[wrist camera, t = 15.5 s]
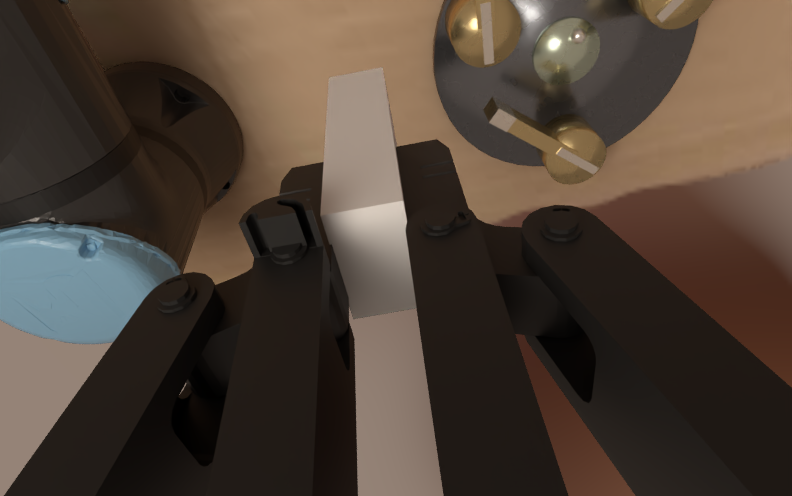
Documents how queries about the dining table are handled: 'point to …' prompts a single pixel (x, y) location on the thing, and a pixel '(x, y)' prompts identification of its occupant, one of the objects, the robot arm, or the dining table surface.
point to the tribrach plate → (564, 72)
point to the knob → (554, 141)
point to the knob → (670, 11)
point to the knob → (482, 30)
